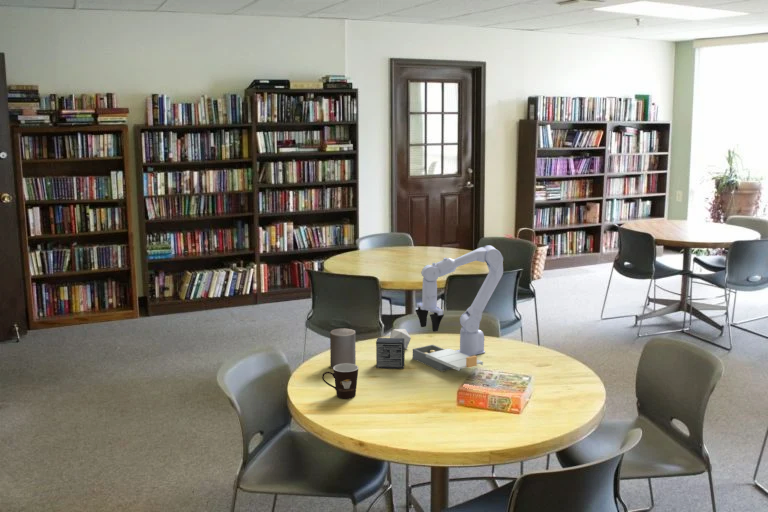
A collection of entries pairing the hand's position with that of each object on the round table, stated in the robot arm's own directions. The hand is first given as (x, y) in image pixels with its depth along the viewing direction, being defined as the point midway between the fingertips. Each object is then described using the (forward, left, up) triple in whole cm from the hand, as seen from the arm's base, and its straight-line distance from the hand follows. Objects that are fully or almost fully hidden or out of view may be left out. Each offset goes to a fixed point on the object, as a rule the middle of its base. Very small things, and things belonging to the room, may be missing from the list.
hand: (429, 328), depth 300 cm
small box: (+21, +3, -11) cm, 24 cm away
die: (+5, -13, -11) cm, 18 cm away
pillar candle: (+36, -7, -11) cm, 38 cm away
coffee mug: (+52, +18, -11) cm, 56 cm away
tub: (+4, +10, -10) cm, 15 cm away
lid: (+4, +20, -7) cm, 22 cm away
